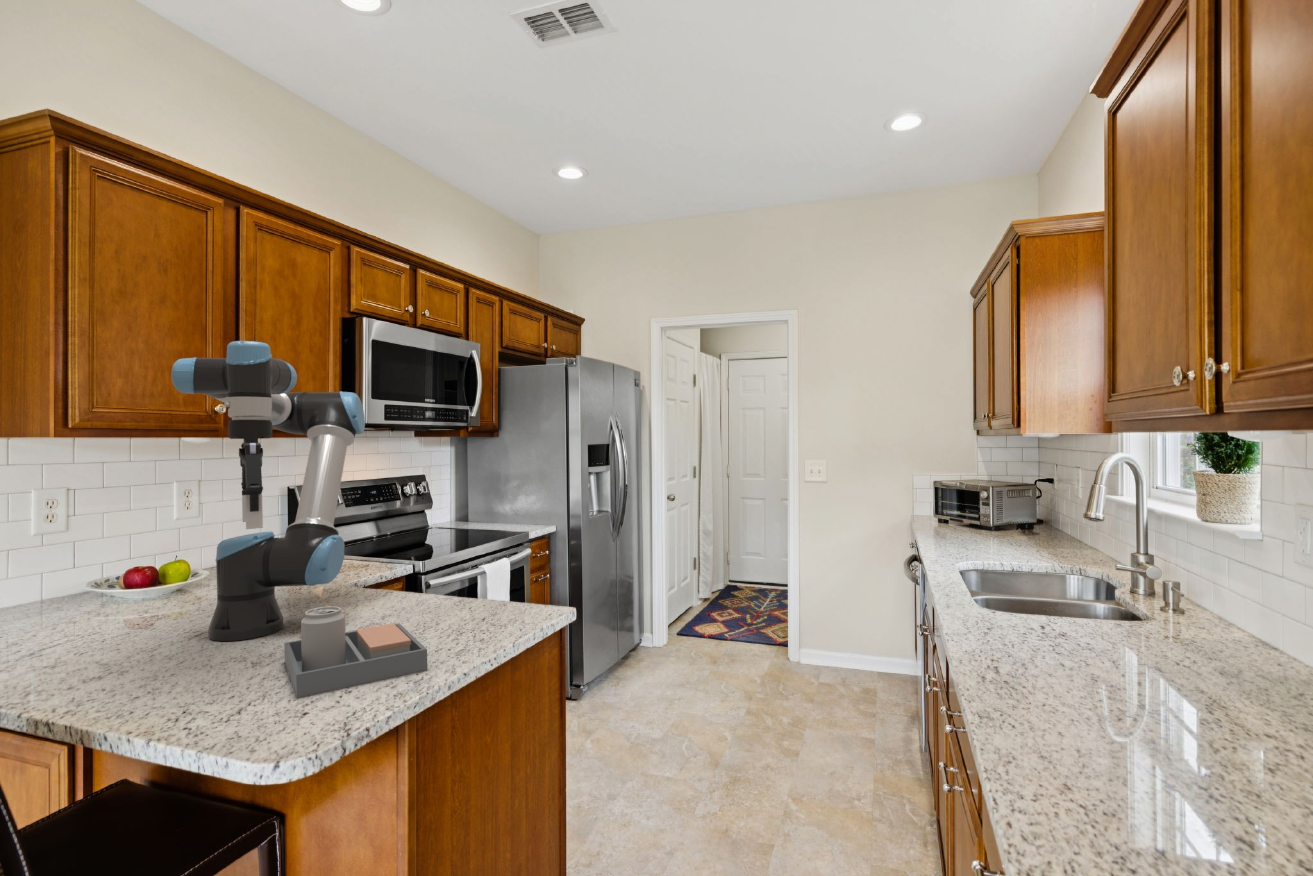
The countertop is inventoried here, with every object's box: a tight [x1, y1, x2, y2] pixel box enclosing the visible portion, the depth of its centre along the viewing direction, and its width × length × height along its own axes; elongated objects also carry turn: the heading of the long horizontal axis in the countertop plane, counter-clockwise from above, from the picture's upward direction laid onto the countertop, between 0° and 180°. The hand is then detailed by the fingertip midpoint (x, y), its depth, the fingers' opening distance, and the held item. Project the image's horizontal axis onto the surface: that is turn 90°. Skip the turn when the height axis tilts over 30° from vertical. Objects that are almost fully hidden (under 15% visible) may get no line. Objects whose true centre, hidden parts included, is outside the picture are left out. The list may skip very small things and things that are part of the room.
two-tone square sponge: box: [355, 623, 411, 660], centre depth 130 cm, size 14×7×5 cm, turn 35°
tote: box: [283, 623, 428, 699], centre depth 127 cm, size 22×22×5 cm
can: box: [300, 605, 346, 672], centre depth 124 cm, size 8×8×12 cm
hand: (252, 525), depth 130 cm, fingers open, 13 cm apart
